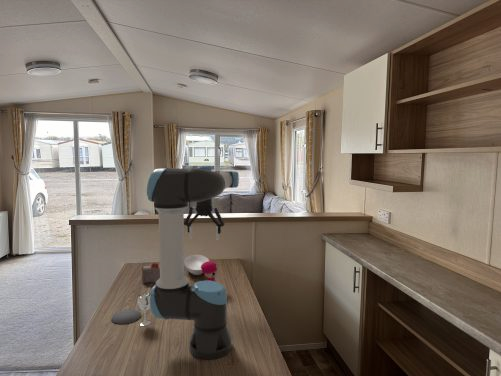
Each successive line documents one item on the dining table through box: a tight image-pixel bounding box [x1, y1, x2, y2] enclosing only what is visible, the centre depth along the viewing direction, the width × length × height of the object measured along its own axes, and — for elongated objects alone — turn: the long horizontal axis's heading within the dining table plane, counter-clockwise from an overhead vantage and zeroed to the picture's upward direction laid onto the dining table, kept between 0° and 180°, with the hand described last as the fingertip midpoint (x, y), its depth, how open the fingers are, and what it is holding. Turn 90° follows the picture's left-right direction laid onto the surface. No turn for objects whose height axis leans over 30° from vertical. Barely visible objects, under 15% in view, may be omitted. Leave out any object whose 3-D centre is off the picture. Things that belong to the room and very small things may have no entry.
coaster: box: [111, 309, 142, 325], centre depth 143 cm, size 12×12×1 cm
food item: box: [141, 262, 160, 284], centre depth 186 cm, size 14×8×10 cm, turn 111°
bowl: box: [184, 254, 210, 276], centre depth 202 cm, size 30×15×6 cm, turn 13°
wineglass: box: [136, 292, 151, 327], centre depth 138 cm, size 6×6×12 cm
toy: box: [201, 260, 218, 282], centre depth 173 cm, size 8×8×15 cm
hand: (204, 239), depth 168 cm, fingers open, 13 cm apart
